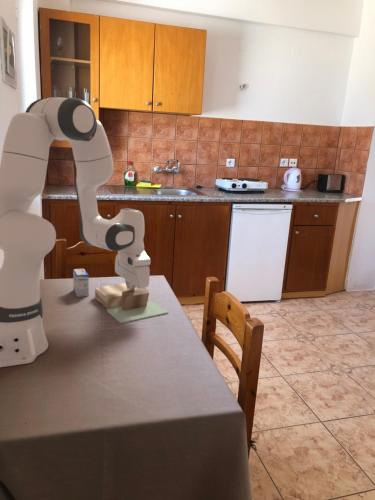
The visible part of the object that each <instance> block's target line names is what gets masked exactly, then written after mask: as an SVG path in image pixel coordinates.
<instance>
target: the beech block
mask: <svg viewBox="0 0 375 500" xmlns="http://www.w3.org/2000/svg"><path fill="white" fill-rule="evenodd" d="M136 289H139V288H137V287H135V290H136ZM140 289H142V288H140ZM124 291H127V286H126V283H125V282H124V283H123V282H122V283H116V284H111V285H104V286H97V287H94V298H95V299H96V300H97V301H98V302H100V304H102V306H104V307H105V308H106V309H110V308H115V307H120V302H121V296H122V292H124Z"/></svg>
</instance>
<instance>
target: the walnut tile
mask: <svg viewBox="0 0 375 500" xmlns="http://www.w3.org/2000/svg"><path fill="white" fill-rule="evenodd" d="M149 295H150V292H149V290H148V289H147V287H146V288H142V289H136V290H130V291H124V292H122V296H121V302H120V306H121V308H122V309H123V311H125V310H130V309H135V308H140V307H145V306H147V301H149V297H150V296H149Z"/></svg>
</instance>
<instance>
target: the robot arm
mask: <svg viewBox="0 0 375 500" xmlns="http://www.w3.org/2000/svg"><path fill="white" fill-rule="evenodd" d="M108 139H109V138H108V136H107V133H106V131H105V128H104V126H103V124H102V123H101V121H100V120H98V119H97V117H96V114H95V111H94V110H93V108H92V106H91V105H90V104H89V103H88V102H87V101H85V100H83V99H80V98H77V97H59V96H54V97H47V98H39V99H35V101H33V102H31V103H30V104H29V105H28V107H27V108H26V110H25V111H24V112H19V113H16V114H15V115H14V116H12V117H11V120H10V121H9V124H8V127H7V131H6V134H5V137H4V141H3V146H2V150H1V151H2V152H1V160H0V250H2V252H3V260H2V266H1V268H0V368H4V367H12V366H17V365H18V366H19V365H25V364H31V363H33V362H34V361H35V360H36V358H37V357H39V356H40V355H41V354H43V353H44V352H46V350H47V349H48V347H49V342H48V340H47V336H46V333H45V329H44V325H43V314H44V310H43V309H44V308H43V307H44V306H43V301H42V298H41V292H40V291H41V288H40V281H41V280H40V274H41V268H42V267H41V266H42V265H43V260H44V258H45V257H46V255H48V254H49V253H50V252H51V251H52V250H53V249H54V246H55V244H56V240H57V232H56V229H55V227H54V225H53V224H52V222H50V221H49V220H47V219H45V218H43V217H42V216H40V215H38V214H35V213H31V212H29V211H30V210H29V209H30V207H31V206H32V204H33V202H34V201H35V199H36V197H38V196H40V194H42V193H43V191H44V188H45V183H46V178H47V177H46V176H47V170H48V164H49V155H50V148H51V144H52V143H53V141H54V140H57V141H67V142H68V143H69V144H70V146H71V149H72V155H73V158H74V164H75V168H76V169H75V170H76V176H75V181H74V182H75V183H74V184H75V191H76V192H75V194H76V200H77V207H78V213H79V227H78V232H79V238H80V240H81V241H82V242H83V243H84V244H85V245H87V246H90V247H97V248H100V249H103V250H108V251H111V252H117V254H116V256H115V259H114V260H115V261H114V272H115V273H116V275H118V276H120V277H121V278H123V279H124V283H126V286H127V291H130V290H135V287H137V288H139V289H140V288H146V289H147V288H148V287H149V285H150V272H151V270H150V265H151V261H152V260H151V258H150V256H149V255H148V254H147V252H146V250H145V244H144V238H145V226H146V225H145V217H144V214H143V212H142V211H140V210H138V209H134V208H129V207H127V208H126V207H124V208H121V209H120V210H119V212H118V213H117V215H115V217H113V218H109V219H107V218H103V217H102V216H101V215H100V212H99V210H98V209H99V207H98V199H97V190H98V188H99V187H101V186H103V185H104V184H106V183H108V182H109V181H110V180H111V178H112V176H113V175H114V172H115V171H114V170H115V169H114V168H115V165H114V158H113V154H112V150H111V145H110V142H109V140H108Z"/></svg>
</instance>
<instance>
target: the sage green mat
mask: <svg viewBox="0 0 375 500" xmlns="http://www.w3.org/2000/svg"><path fill="white" fill-rule="evenodd" d="M105 310H106V312H107V314H108V313H109V314H110V316H112V317H113V318H114V319H115V320H116V321H117V322H118V323H119V324H121V325H122V324H124V323H129V322H133V321H138V320H142V319H149V318H153V317H158V316H163V315H167V314H169V312H168V311H167V310H166V309H165V308H164V307H162V306H160V305H159V304H157V303H156V302H154V300H148V301H147V306H145V307H140V308H135V309H130V310H125V311H123V309H122V308H121V306H120V307H115V308H110V309H107V308H106V309H105Z"/></svg>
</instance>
